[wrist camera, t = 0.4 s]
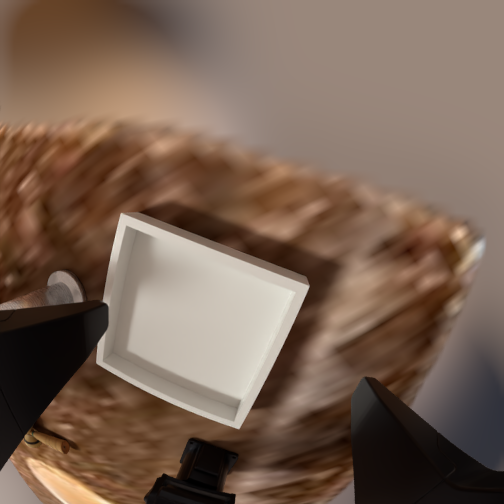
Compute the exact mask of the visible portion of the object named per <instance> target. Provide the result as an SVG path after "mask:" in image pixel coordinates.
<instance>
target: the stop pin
mask: <svg viewBox="0 0 504 504" xmlns="http://www.w3.org/2000/svg"><path fill="white" fill-rule="evenodd" d="M85 301H87V299H86V294H85V290H84V288H83V286H82V284H81V282H80V280H79V279H78V278H77V276H76V275H75V274H74V273H72V272H71V271H69V270H60V271H57V272H54V273H52V274H51V276H50V277H49V279H48V283H47V287H44V288H41V289H39V290H36V291H33V292H31V293H28V294H26V295H23V296H21V297H18V298H15V299H13V300H10V301H8V302H5V303H3V304H0V310H10V309H21V308H31V307H41V306H50V305H59V304H68V303H77V302H85Z"/></svg>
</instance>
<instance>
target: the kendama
mask: <svg viewBox="0 0 504 504" xmlns="http://www.w3.org/2000/svg"><path fill="white" fill-rule="evenodd" d="M24 436H25V437H24V441H25V443H26V445H27V446H29V447H31V448H37V447H39V446H40V445H41V444H42V443H44V444H46V445H48V446H50V447H52V448H54V449H56V450H58V451H60V452H61V453H63V454H67V453H68V452H69V448H70V446H69V443H68V442H67V441H66V440H62V439H59V438H55V437H53V436H50V435H47V434H44V433H41V432H37V431H34V429H33V426H32V427H31V429H30V430H29V431H28V433H27V434H26V435H24Z"/></svg>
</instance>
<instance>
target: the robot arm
mask: <svg viewBox="0 0 504 504" xmlns="http://www.w3.org/2000/svg"><path fill="white" fill-rule="evenodd" d="M108 326H109V306H108V304H107V303H105V302H102V301H100V300H93V301H85V302H77V303H68V304H59V305H50V306H41V307H31V308H21V309H10V310H0V471H1V469H2V468H3V466H4V465H5V463H6V462H7V461H8V459H9V458H10V456H11V455H12V453H13V452H14V451H15V449H16V448H17V446H18V445H19V444H20V442H21V441H22V440H23V438H24V437H25V436H24V435H26V434H27V433H28V431H29V430H30V429H31V427H32V426H33V425H34V423H35V422H36V421H37V419H38V418H39V417H40V416H41V414H42V413H43V412H44V410H45V409H46V408H47V407H48V405H49V404H50V403H51V402H52V400H53V399H54V398H55V397H56V395H57V394H58V393H59V392H60V390H61V389H62V388H63V387H64V386H65V384H66V383H67V382H68V381H69V380H70V378H71V377H72V376H73V375H74V374H75V372H76V371H77V370H78V369H79V368H80V366H81V365H82V364H83V363H84V362H85V361H86V359H87V358H88V357H89V355H90V354H91V352H92V351H93V349H94V348H95V347H96V345H97V344H98V342H99V341H100V339H101V338H102V336H103V335H104V333H105V332H106V331H107V329H108ZM351 444H352V456H353V470H354V489H355V504H504V471H495V470H492V469H489V468H487V467H485V466H484V465H482V464H481V463H479V462H478V461H476V460H475V459H473V458H472V457H471V456H469V455H468V454H466V453H465V452H463V451H462V450H461V449H459V448H458V447H456V446H455V445H454V444H452V443H451V442H450V441H449V440H447V439H446V438H445V437H444V436H443V435H441V434H440V433H438V432H437V430H435V429H434V428H433V427H432V426H431V425H429V424H428V423H427V422H426V421H424V420H423V419H422V418H421V417H420V416H419V415H418V414H416V413H415V412H414V411H413V410H412V409H410V408H409V407H408V406H407V405H406V404H405V403H403V402H402V401H401V400H400V399H399V398H398V397H396V396H395V395H394V394H393V393H392V392H391V391H389V390H388V389H387V388H386V387H385V386H384V385H382V384H381V383H380V382H379V381H378V380H377V379H375V378H372V377H363V378H362V379H361V381H360V383H359V384H358V386H357V388H356V390H355V391H354V393H353V395H352V399H351ZM237 459H238V454H236V453H232V452H229V451H226V450H223V449H220V448H217V447H214V446H211V445H208V444H205V443H203V442H200V441H197V440H195V439H191V438H190V439H189V440H188V442H187V445H186V447H185V450H184V452H183V455H182V457H181V460H180V463H181V464H182V465H181V468H180V470H179V472H178V475H177V477H176V478H173V477H170V476H168V475H167V474H164V473H163V475H162V476H161V477H159V478H157V480H156V482H155V484H154V486H153V487H152V489H151V490H150V491H149V492H148V493H147V494H146V495H145V497H144V501H145V503H146V504H235V497H236V494H232V493H231V494H229V493H225V492H223V489H224V485H225V481H226V477H227V474H228V472H229V471H230V469H231V468H232V467H233V465H234V464H235V462H236V461H237Z"/></svg>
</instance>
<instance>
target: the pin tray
mask: <svg viewBox="0 0 504 504" xmlns="http://www.w3.org/2000/svg"><path fill="white" fill-rule="evenodd" d="M309 287H310V285H309V283H308V280H307V277H306V276H304V275H301V274H298V273H296V272H293V271H290V270H288V269H285V268H283V267H280V266H277V265H275V264H272V263H269V262H267V261H264V260H262V259H259V258H256V257H254V256H251V255H248V254H246V253H243V252H241V251H238V250H235V249H233V248H230V247H227V246H225V245H222V244H220V243H217V242H214V241H212V240H209V239H207V238H204V237H201V236H199V235H196V234H194V233H191V232H188V231H186V230H183V229H181V228H178V227H175V226H173V225H170V224H168V223H165V222H162V221H160V220H157V219H155V218H152V217H149V216H147V215H144V214H142V213H139V212H132V213H121V216H120V219H119V223H118V227H117V231H116V235H115V240H114V244H113V248H112V253H111V258H110V263H109V268H108V273H107V279H106V284H105V290H104V296H103V302H105V303H107V304H108V306H109V326H108V329H107V331H106V332H105V333H104V335H103V336H102V338H101V339H100V341H99V342H98V346H97V360H96V363H97V364H98V365H100V366H101V367H103V368H105V369H106V370H108V371H110V372H112V373H113V374H115V375H117V376H119V377H120V378H122V379H124V380H126V381H128V382H129V383H131V384H133V385H135V386H137V387H139V388H141V389H143V390H145V391H147V392H149V393H151V394H153V395H155V396H157V397H159V398H161V399H163V400H165V401H168V402H170V403H172V404H174V405H176V406H179V407H181V408H183V409H186V410H188V411H191V412H193V413H196V414H198V415H201V416H203V417H206V418H208V419H211V420H214V421H217V422H219V423H222V424H225V425H228V426H231V427H234V428H237V429H239V428H240V427H241V425H242V423H243V421H244V420H245V418H246V416H247V414H248V412H249V410H250V409H251V407H252V405H253V403H254V401H255V399H256V397H257V396H258V394H259V392H260V390H261V388H262V386H263V384H264V382H265V380H266V378H267V376H268V374H269V372H270V370H271V368H272V366H273V364H274V362H275V360H276V358H277V356H278V354H279V352H280V350H281V348H282V346H283V344H284V342H285V340H286V338H287V336H288V333H289V331H290V329H291V327H292V325H293V323H294V321H295V318H296V316H297V314H298V312H299V310H300V307H301V305H302V303H303V301H304V298H305V296H306V294H307V291H308V289H309Z"/></svg>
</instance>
